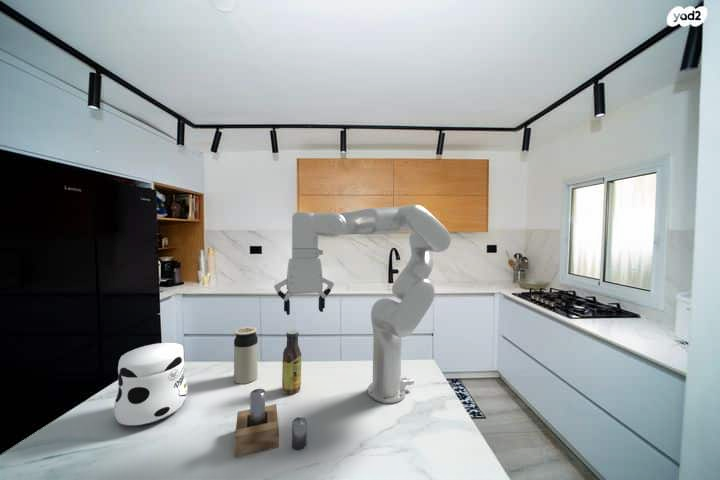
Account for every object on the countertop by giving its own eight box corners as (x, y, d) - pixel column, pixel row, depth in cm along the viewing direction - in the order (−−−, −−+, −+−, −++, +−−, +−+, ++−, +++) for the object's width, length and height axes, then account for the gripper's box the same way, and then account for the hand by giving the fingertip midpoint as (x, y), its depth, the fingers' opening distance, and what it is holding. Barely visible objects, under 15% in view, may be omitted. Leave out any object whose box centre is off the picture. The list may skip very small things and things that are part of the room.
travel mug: (252, 384, 99) (252, 334, 98) (229, 384, 99) (230, 333, 98) (260, 373, 107) (260, 326, 106) (239, 373, 107) (240, 326, 106)
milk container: (200, 404, 87) (200, 347, 87) (136, 441, 71) (136, 371, 71) (165, 390, 94) (165, 337, 94) (101, 421, 79) (100, 358, 78)
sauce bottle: (296, 396, 92) (296, 336, 91) (278, 394, 93) (278, 334, 93) (304, 386, 98) (304, 329, 98) (287, 383, 100) (287, 328, 99)
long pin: (264, 431, 75) (264, 387, 75) (265, 440, 72) (265, 395, 72) (250, 434, 74) (250, 390, 74) (250, 444, 71) (250, 397, 71)
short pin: (305, 438, 73) (305, 415, 73) (307, 448, 70) (307, 424, 70) (291, 441, 72) (291, 418, 72) (292, 452, 69) (293, 427, 68)
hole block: (276, 421, 80) (276, 404, 79) (278, 446, 70) (278, 427, 70) (237, 429, 76) (237, 411, 76) (234, 457, 67) (234, 436, 67)
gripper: (330, 253, 89) (330, 306, 89) (273, 253, 83) (273, 311, 83) (336, 254, 82) (336, 313, 82) (275, 255, 76) (274, 318, 76)
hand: (304, 312), depth 83 cm, fingers open, 9 cm apart
